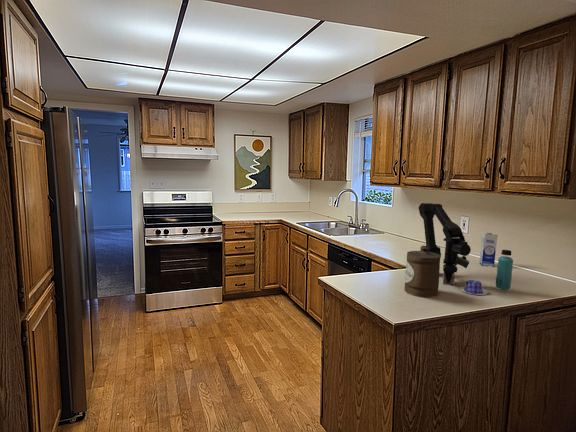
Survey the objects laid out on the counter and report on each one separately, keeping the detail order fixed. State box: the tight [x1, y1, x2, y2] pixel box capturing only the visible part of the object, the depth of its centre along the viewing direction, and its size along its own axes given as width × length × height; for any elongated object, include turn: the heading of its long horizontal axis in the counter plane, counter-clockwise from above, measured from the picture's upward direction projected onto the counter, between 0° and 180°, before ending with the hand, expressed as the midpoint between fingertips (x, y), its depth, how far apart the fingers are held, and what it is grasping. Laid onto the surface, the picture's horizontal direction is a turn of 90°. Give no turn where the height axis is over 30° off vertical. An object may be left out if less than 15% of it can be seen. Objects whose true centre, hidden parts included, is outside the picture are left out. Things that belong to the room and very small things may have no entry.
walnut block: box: [442, 273, 456, 286], centre depth 187 cm, size 5×5×5 cm
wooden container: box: [404, 245, 441, 298], centre depth 171 cm, size 15×15×22 cm
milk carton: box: [479, 232, 498, 268], centre depth 225 cm, size 7×7×20 cm
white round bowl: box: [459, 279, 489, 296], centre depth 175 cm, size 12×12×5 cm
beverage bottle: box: [494, 249, 514, 291], centre depth 177 cm, size 6×7×20 cm
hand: (448, 281), depth 187 cm, fingers closed on walnut block, 5 cm apart
